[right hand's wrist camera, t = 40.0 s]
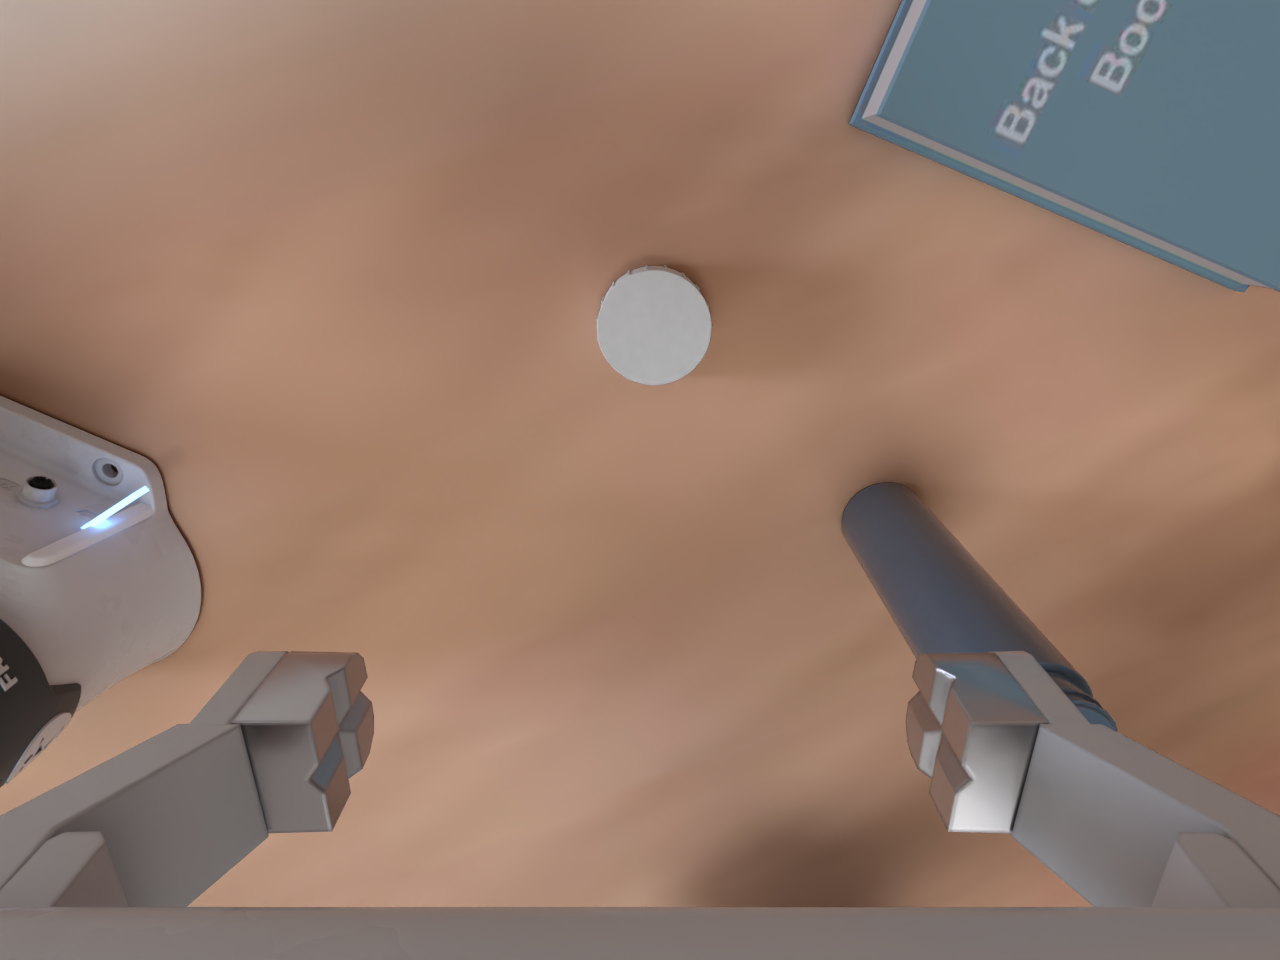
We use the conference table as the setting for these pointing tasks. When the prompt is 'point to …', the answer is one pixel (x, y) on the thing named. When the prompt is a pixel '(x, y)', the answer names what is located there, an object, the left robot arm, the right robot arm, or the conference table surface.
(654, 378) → the lid
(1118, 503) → the conference table surface
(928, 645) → the dark grey cylinder
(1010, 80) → the book
